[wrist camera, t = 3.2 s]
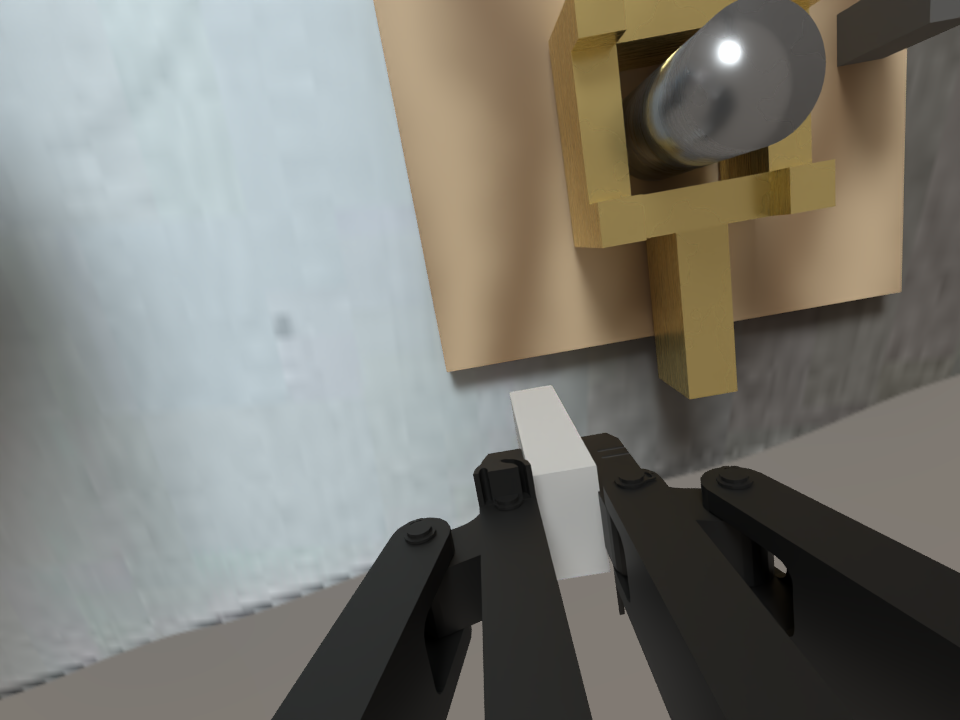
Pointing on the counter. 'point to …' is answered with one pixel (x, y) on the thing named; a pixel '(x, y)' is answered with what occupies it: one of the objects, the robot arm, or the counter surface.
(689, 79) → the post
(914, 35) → the block
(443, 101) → the oak board
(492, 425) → the counter surface
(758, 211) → the handled square frame
